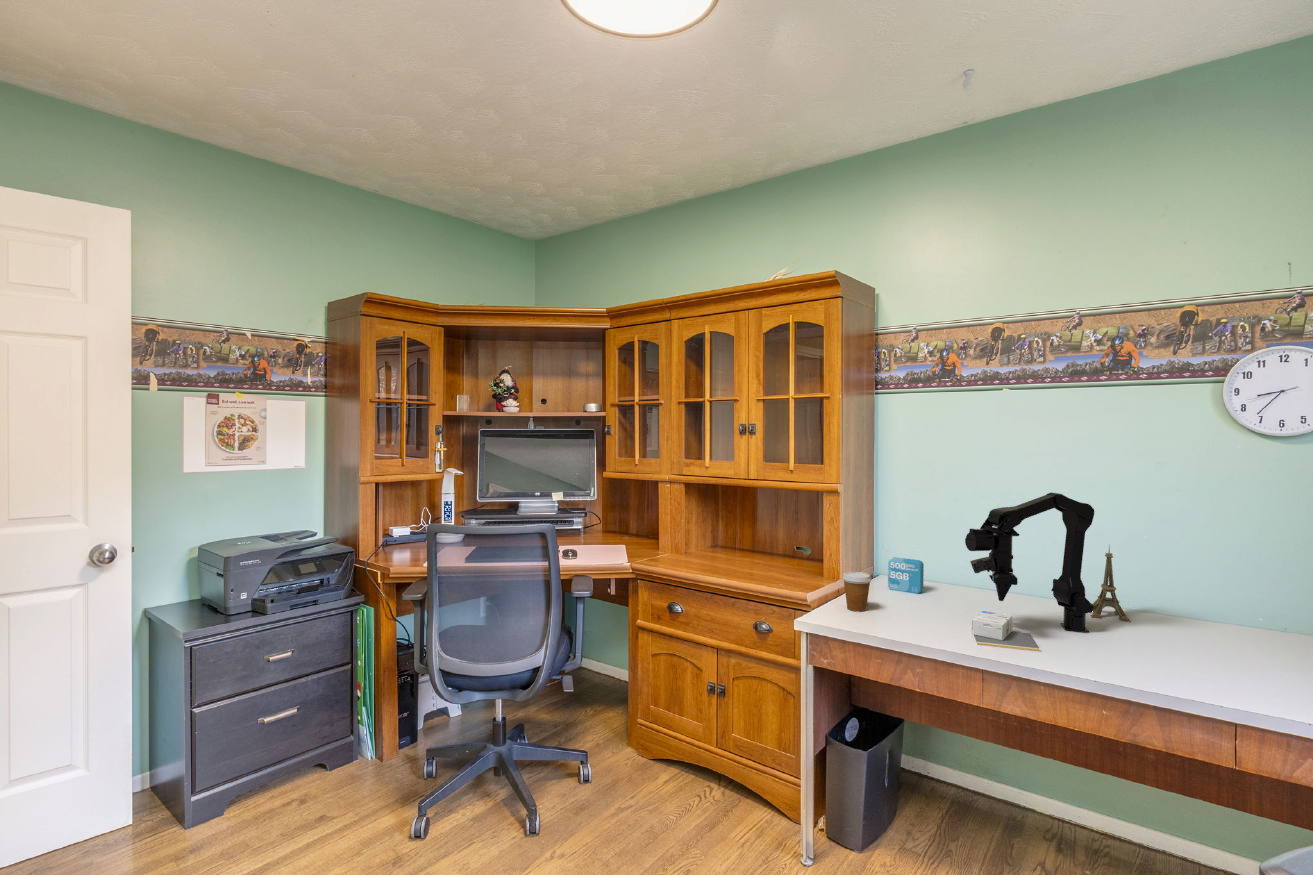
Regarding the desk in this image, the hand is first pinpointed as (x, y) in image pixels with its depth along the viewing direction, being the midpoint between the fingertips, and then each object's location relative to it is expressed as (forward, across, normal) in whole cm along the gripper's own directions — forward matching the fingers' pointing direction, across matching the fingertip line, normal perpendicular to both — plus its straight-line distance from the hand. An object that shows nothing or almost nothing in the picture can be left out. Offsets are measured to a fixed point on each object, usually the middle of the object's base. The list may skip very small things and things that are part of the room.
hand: (1000, 600), depth 198 cm
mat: (+10, +8, 0) cm, 12 cm away
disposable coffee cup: (+10, -9, -43) cm, 45 cm away
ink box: (+7, -2, -1) cm, 7 cm away
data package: (+10, -41, -27) cm, 50 cm away
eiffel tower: (+10, -31, +36) cm, 48 cm away
